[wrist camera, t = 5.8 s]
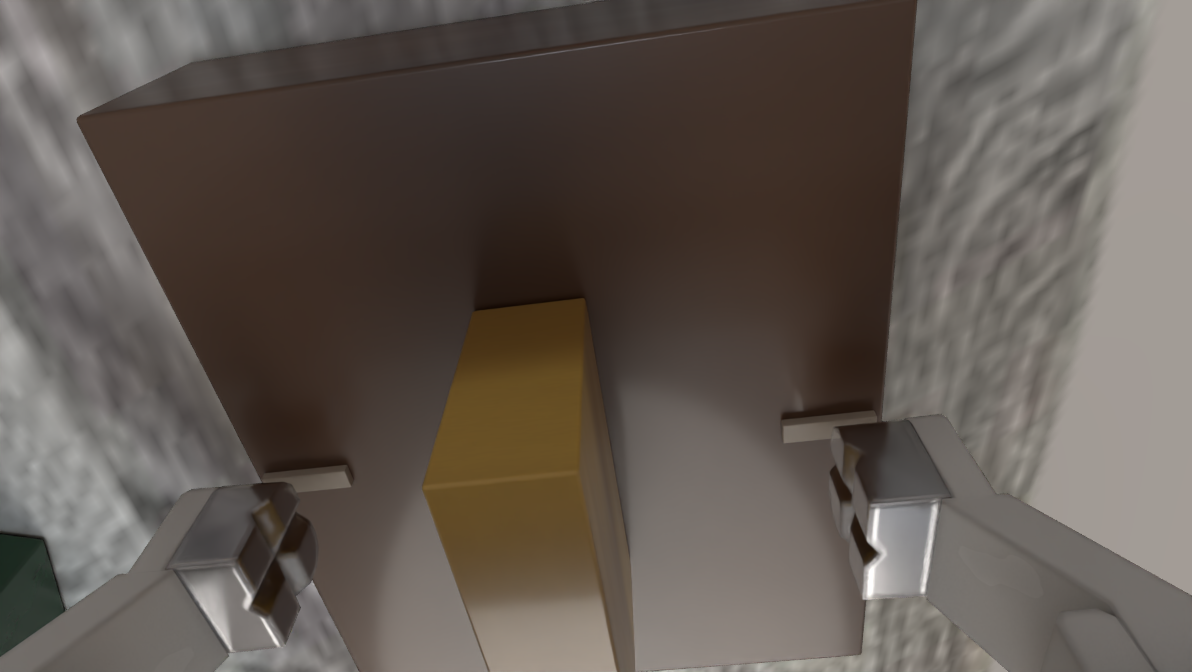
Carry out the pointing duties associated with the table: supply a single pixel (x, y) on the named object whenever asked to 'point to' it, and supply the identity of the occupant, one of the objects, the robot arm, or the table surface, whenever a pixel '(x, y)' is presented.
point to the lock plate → (548, 286)
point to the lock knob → (533, 495)
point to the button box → (25, 590)
